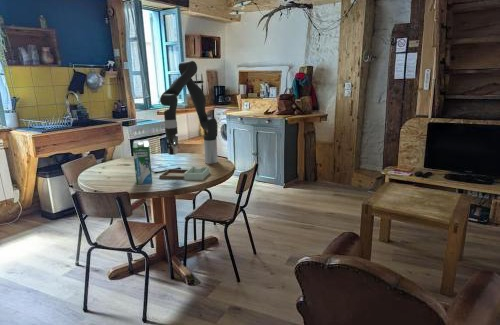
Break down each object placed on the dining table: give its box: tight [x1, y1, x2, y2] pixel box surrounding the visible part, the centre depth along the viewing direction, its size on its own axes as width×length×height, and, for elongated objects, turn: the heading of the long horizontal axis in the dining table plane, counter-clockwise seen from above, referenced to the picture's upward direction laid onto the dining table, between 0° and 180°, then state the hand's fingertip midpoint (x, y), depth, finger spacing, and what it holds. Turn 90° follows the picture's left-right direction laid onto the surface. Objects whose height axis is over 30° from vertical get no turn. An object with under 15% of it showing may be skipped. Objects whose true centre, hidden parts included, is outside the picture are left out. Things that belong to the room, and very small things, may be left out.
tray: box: [158, 168, 189, 180], centre depth 224 cm, size 16×16×2 cm
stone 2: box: [194, 166, 204, 173], centre depth 224 cm, size 4×4×4 cm
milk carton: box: [132, 140, 153, 186], centre depth 210 cm, size 9×9×25 cm
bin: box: [183, 166, 211, 181], centre depth 221 cm, size 16×12×5 cm
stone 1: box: [167, 145, 179, 156], centre depth 220 cm, size 4×4×4 cm
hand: (173, 153), depth 220 cm, fingers closed on stone 1, 4 cm apart
